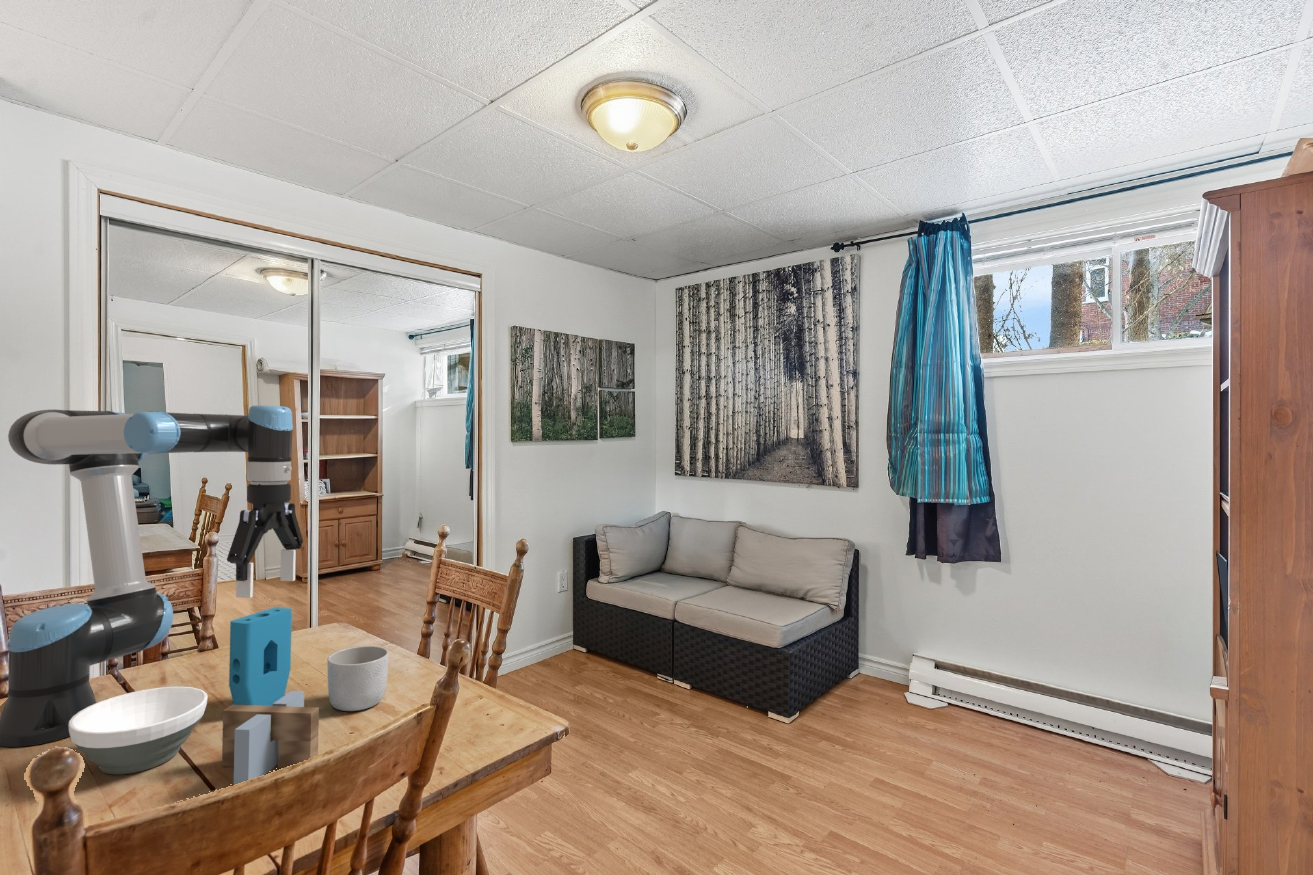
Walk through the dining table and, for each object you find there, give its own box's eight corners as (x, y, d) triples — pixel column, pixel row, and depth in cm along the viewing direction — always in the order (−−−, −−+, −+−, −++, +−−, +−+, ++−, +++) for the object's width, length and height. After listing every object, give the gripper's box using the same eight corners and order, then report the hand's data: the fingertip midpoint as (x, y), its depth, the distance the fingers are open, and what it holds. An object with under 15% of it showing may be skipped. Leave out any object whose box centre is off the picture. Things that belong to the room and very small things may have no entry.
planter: (317, 703, 140) (318, 654, 140) (373, 687, 149) (374, 641, 149) (339, 721, 132) (340, 669, 132) (397, 704, 141) (398, 655, 141)
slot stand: (248, 788, 106) (249, 729, 106) (233, 788, 106) (234, 729, 106) (303, 742, 122) (304, 691, 122) (290, 742, 122) (291, 690, 122)
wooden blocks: (221, 766, 113) (223, 710, 113) (231, 758, 116) (232, 704, 116) (310, 768, 113) (311, 713, 113) (317, 761, 116) (318, 707, 115)
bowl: (41, 774, 109) (42, 719, 109) (163, 726, 127) (164, 679, 127) (111, 800, 102) (112, 742, 102) (230, 746, 120) (231, 696, 120)
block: (244, 719, 131) (247, 624, 131) (226, 716, 133) (228, 621, 132) (292, 697, 143) (293, 609, 143) (274, 694, 144) (276, 606, 144)
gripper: (246, 488, 114) (243, 605, 114) (322, 478, 139) (320, 575, 139) (205, 487, 114) (202, 604, 114) (288, 478, 139) (286, 574, 139)
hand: (267, 588), depth 126 cm, fingers open, 13 cm apart
